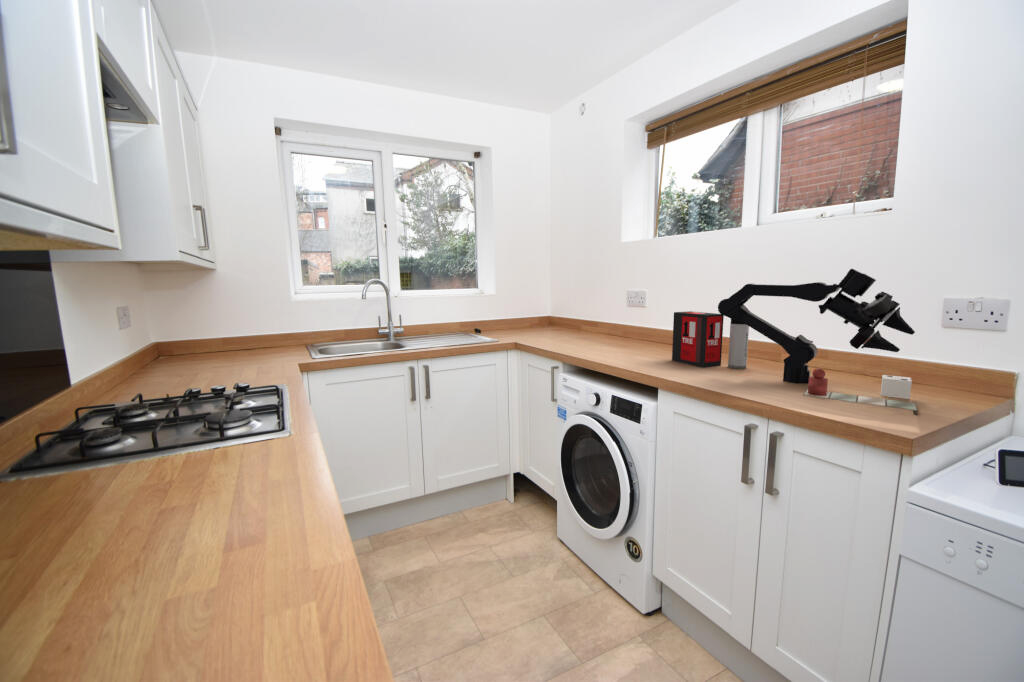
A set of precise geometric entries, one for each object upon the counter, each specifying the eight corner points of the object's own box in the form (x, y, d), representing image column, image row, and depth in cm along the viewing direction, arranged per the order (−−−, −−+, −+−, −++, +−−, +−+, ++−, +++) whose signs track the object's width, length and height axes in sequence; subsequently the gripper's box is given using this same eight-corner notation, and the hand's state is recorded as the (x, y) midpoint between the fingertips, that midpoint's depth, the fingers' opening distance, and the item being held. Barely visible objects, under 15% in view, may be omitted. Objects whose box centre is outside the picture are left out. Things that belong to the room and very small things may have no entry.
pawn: (806, 394, 126) (809, 368, 125) (808, 390, 129) (810, 366, 128) (825, 396, 123) (828, 370, 122) (827, 393, 126) (829, 368, 125)
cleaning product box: (720, 365, 172) (723, 314, 169) (703, 367, 168) (706, 315, 165) (688, 358, 187) (690, 311, 184) (671, 360, 183) (673, 312, 180)
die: (880, 399, 123) (882, 378, 123) (880, 395, 128) (882, 374, 127) (909, 403, 120) (911, 381, 119) (908, 398, 124) (910, 377, 123)
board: (802, 399, 125) (802, 395, 124) (806, 392, 131) (806, 388, 131) (917, 414, 109) (917, 410, 109) (915, 406, 116) (915, 402, 116)
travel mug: (724, 365, 172) (727, 314, 169) (742, 365, 171) (746, 314, 168) (730, 369, 166) (733, 315, 163) (749, 369, 165) (752, 315, 162)
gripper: (849, 307, 120) (911, 342, 112) (881, 275, 127) (942, 305, 119) (827, 332, 129) (883, 366, 121) (858, 301, 136) (913, 331, 128)
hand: (906, 342), depth 122 cm, fingers open, 9 cm apart
